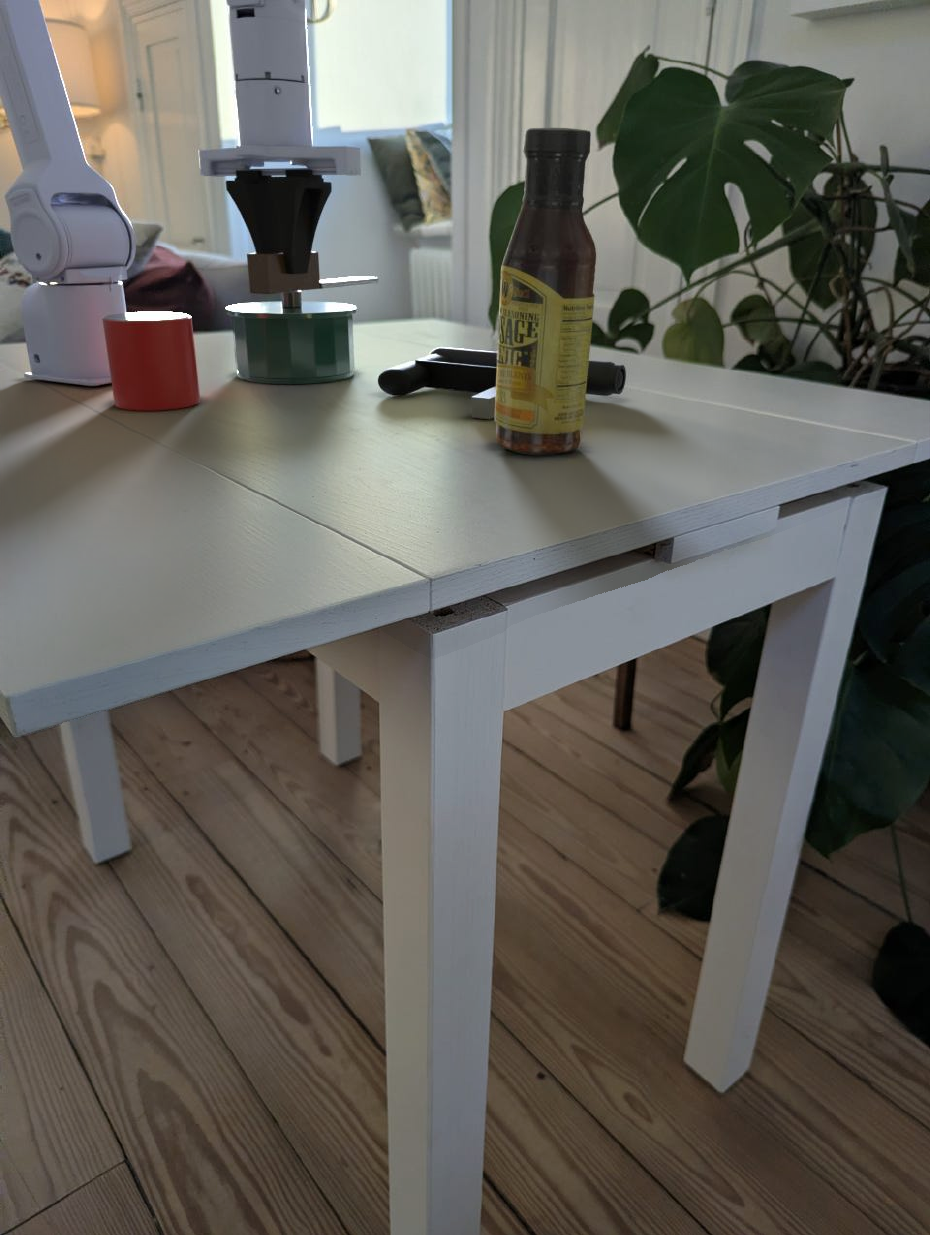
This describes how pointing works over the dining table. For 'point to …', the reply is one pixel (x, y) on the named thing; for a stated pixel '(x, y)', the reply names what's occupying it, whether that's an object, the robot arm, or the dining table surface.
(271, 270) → the knife
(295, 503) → the dining table surface
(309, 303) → the pot lid
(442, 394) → the dining table surface
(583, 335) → the sauce bottle
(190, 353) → the can
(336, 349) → the pot
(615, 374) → the door handle
